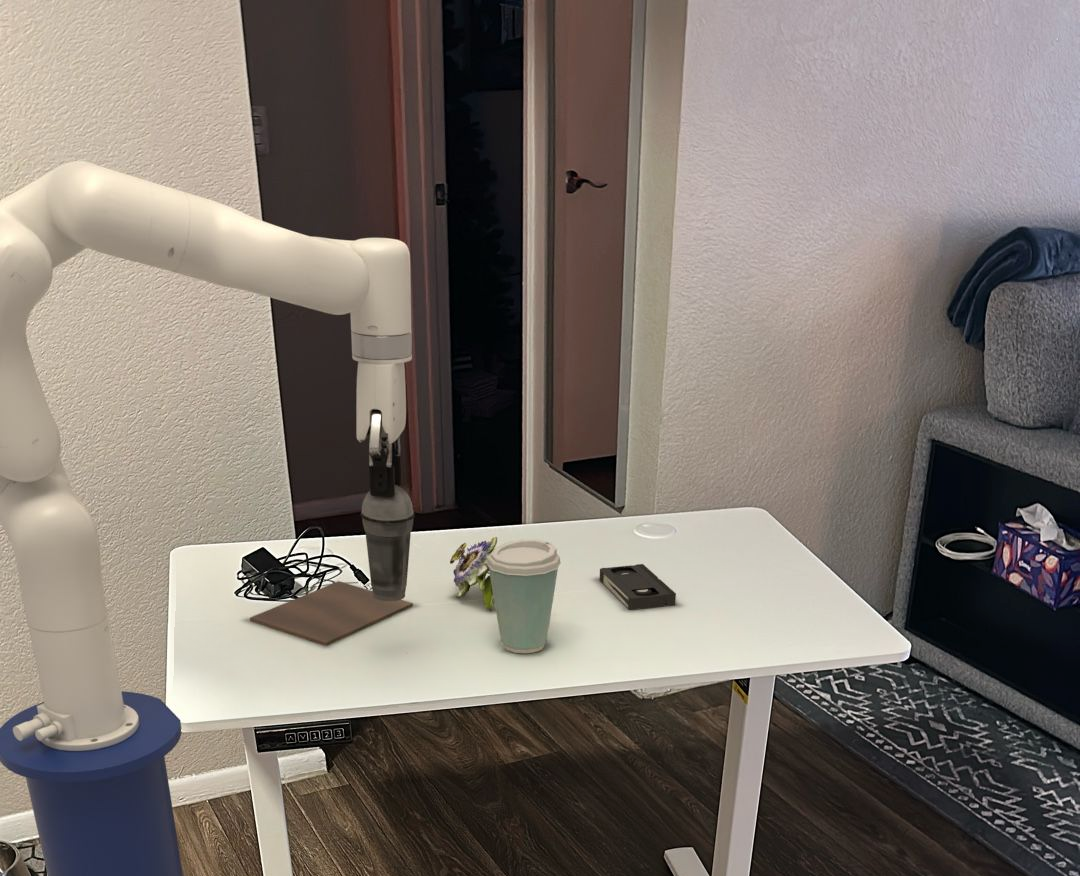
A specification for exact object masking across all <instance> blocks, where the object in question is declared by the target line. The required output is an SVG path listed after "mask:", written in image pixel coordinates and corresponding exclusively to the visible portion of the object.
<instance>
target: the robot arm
mask: <svg viewBox="0 0 1080 876" xmlns="http://www.w3.org/2000/svg"><path fill="white" fill-rule="evenodd" d="M86 249H89V250H91V251H95V252H96V253H97V252H98V253H101V254H104V255H108V256H111V257H115V258H119V259H123V260H127V261H129V262H134V263H138V264H143V265H146V266H150V267H153V268H158V269H161V270H165V271H169V272H172V273H175V274H179V275H183V276H186V277H190V278H193V279H197V280H200V281H204V282H207V283H210V284H213V285H217V286H221V287H224V288H230V289H236V290H241V291H246V292H250V293H254V294H257V295H260V296H264V297H267V298H271V299H275V300H278V301H282V302H284V303H289V304H292V305H295V306H299V307H304V308H307V309H311V310H313V311H318V312H322V313H324V314H325V313H326V314H329V315H335V316H341V315H347V314H350V335H351V357H352V358H351V359H352V360H353V361H355V362H357V372H356V408H355V410H356V412H355V413H356V416H355V417H356V421H355V422H356V426H355V427H356V429H355V430H356V440H357V441H358V442H359V443H364V442H365V441H366V440H367V438H368V439H369V440H368V443H369V447H368V452H369V453H368V457H369V458H368V468H369V469H368V471H369V491H370V494H371V495H372V496H380V497H393V496H394V495H395V485H397V486H399V487H401V486H402V483H403V481H402V479H403V478H402V477H403V475H402V456H401V434H402V433H403V431H404V430H405V427H406V421H407V393H406V392H407V391H406V390H407V389H406V368H405V363H407V362H410V361H412V360H413V344H412V343H413V340H412V339H413V338H412V337H413V336H412V335H413V334H412V293H411V291H412V290H411V289H412V287H411V255H410V250H409V247H408V245H407V244H406V243H405V242H404V241H401V240H400V239H396V238H388V237H365V238H364V237H363V238H358V239H355V240H347V239H336V238H328V237H322V236H310V235H306V234H303V233H301V232H296V231H294V230H290V229H287V228H284V227H281V226H278V225H275V224H272V223H270V222H266V221H264V220H262V219H259V218H256V217H254V216H251V215H249V214H246V213H244V212H242V211H241V210H238V209H236V208H234V207H231V206H230V205H227V204H224V203H221V202H219V201H215V200H213V199H209V198H206V197H203V196H199V195H197V194H193V193H190V192H186V191H183V190H180V189H176V188H173V187H169V186H167V185H163V184H160V183H156V182H153V181H150V180H147V179H143V178H141V177H136V176H133V175H130V174H128V173H123V172H121V171H117V170H115V169H110V168H107V167H104V166H101V165H98V164H95V163H92V162H89V161H85V160H74V161H69V162H66V163H64V164H62V165H60V166H57V167H56V168H54V169H52V170H50V171H48V172H47V173H45V174H43V175H42V176H40V177H38V178H37V179H35V180H33V181H32V182H30V183H29V184H27V185H25V186H24V187H22V188H20V189H18V190H16V191H15V192H13V193H11V194H10V195H7V196H6V197H4V198H3V199H1V200H0V525H1V526H2V528H3V530H4V532H5V534H6V536H7V538H8V539H9V541H10V545H11V547H12V550H13V554H14V557H15V562H16V568H17V569H16V570H17V574H18V581H19V587H20V588H19V589H20V594H21V599H22V604H23V610H24V615H25V620H26V624H27V625H28V631H29V636H30V640H31V646H32V651H33V655H34V661H35V665H36V670H37V675H38V680H39V684H40V689H41V694H42V699H43V702H44V703H43V704H41V705H38V706H37V710H38V715H35V716H34V717H33V720H31V721H28V722H24V723H22V724H19V725H17V726H15V727H13V733H14V735H15V737H16V738H17V739H18V740H19V741H22V740H24V739H27V738H29V737H31V736H34V734H35V736H36V738H37V739H38V740H39V741H41V742H42V743H43V744H45V745H46V746H48V747H51V748H53V749H58V750H63V751H90V750H97V749H101V748H106V747H109V746H112V745H115V744H118V743H120V742H122V741H124V740H126V739H127V738H129V737H130V736H132V735H133V734H134V733H135V732H136V730H137V729H138V727H139V718H138V714H137V712H136V711H135V710H134V709H132V708H131V707H129V706H127V705H124V704H123V698H122V692H121V691H122V686H121V681H120V675H119V670H118V664H117V658H116V652H115V646H114V639H113V635H112V629H111V628H112V627H111V622H110V616H109V612H108V607H107V606H108V605H107V601H106V595H105V586H104V580H103V572H102V571H103V570H102V557H101V556H102V555H101V545H100V539H99V533H98V529H97V526H96V523H95V520H94V519H93V516H92V514H91V512H90V510H89V509H88V508H87V506H86V505H85V504H84V502H83V501H82V500H81V498H80V497H79V496H78V495H77V494H76V493H75V492H74V490H73V488H72V486H71V484H70V481H69V478H68V476H67V472H66V470H65V467H64V465H63V462H62V459H61V457H60V456H61V450H62V449H61V443H62V442H61V434H60V430H59V427H58V425H57V422H56V420H55V418H54V416H53V414H52V411H51V410H50V407H49V404H48V401H47V399H46V395H45V393H44V391H43V388H42V385H41V383H40V379H39V377H38V373H37V371H36V367H35V363H34V360H33V357H32V356H33V355H32V354H31V351H30V347H29V344H28V339H27V325H28V320H29V317H30V314H31V312H32V311H33V309H34V308H35V307H36V305H37V304H38V303H40V301H41V300H42V299H43V298H44V296H46V294H47V292H48V291H49V289H50V287H51V284H52V281H53V275H54V273H53V270H54V269H55V268H57V267H59V266H61V265H62V264H63V263H66V262H67V261H69V260H70V259H72V258H74V257H75V256H77V255H78V254H80V253H81V252H83V251H85V250H86ZM384 449H386V452H385V450H384Z"/></svg>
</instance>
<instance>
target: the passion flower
mask: <svg viewBox="0 0 1080 876" xmlns="http://www.w3.org/2000/svg"><path fill="white" fill-rule="evenodd" d="M497 543H498V537H497V536H493V537H492V538H491V540H490V541H489V540H488V541H487V540H486V539H485V540H483V541H481V542H479V541H478V543H474V544H473V545H470V548H469V547H467V543H466V542H464V543H462V544H461V545H460V546H459V547H457V549H456V550H455V552H454V553H453V554H452V555H451V558H450V560H449V564H450V565H453V564H454V562H455V561H458V562H457V564H456V565H455V568H454V569H453V571H452V573H453V575H454V578H453V583H454V584H455V587H457V588H458V592H457V594H455V597H457V598H459V599H461V598H462V597H464V596H466V594H467V593H468V592H469V591H470V589H471V587H474V586H476V585H478V588H479V589H480V591H481V592H483V593H482V596H483V602H484V603H483V604H484V607H485V608H486V609H487V610H489V611H490V612H492V611H493V610H494V609H493V608H494V606H493V605H494V604H495V602H494V596H493V591H492V585H491V579H490V573H489V567H488V565H487V558H488V557H489V555H490V554H491V553H492V551H493V550H494V548H496V547H497ZM466 547H467V548H466ZM466 550H467V552H466ZM465 553H466V554H465Z"/></svg>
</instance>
